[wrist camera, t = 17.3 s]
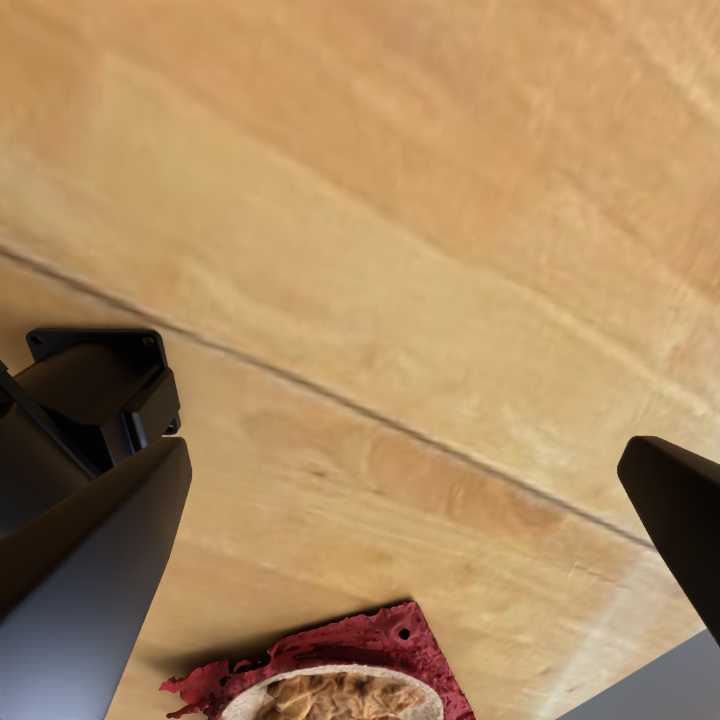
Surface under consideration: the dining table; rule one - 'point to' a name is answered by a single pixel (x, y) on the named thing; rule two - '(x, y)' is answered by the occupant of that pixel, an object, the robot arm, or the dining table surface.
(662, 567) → the dining table surface
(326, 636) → the plate with food
